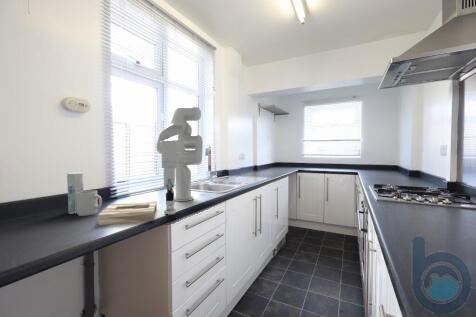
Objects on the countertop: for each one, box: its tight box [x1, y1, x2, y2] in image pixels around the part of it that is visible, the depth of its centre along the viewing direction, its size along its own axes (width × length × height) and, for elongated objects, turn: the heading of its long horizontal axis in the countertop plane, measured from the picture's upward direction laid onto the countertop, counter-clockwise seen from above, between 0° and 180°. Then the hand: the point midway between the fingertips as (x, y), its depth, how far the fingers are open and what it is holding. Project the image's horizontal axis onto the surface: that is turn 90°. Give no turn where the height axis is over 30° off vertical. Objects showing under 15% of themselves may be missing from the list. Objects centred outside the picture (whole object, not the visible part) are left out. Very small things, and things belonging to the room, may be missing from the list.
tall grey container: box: [66, 171, 84, 215], centre depth 110 cm, size 6×6×20 cm
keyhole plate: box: [97, 201, 158, 226], centre depth 103 cm, size 18×22×4 cm
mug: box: [76, 189, 103, 217], centre depth 108 cm, size 12×8×11 cm
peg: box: [163, 190, 177, 216], centre depth 108 cm, size 6×6×11 cm
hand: (169, 198), depth 108 cm, fingers open, 9 cm apart
